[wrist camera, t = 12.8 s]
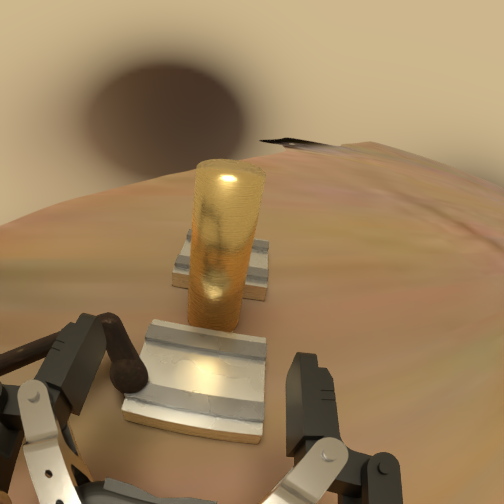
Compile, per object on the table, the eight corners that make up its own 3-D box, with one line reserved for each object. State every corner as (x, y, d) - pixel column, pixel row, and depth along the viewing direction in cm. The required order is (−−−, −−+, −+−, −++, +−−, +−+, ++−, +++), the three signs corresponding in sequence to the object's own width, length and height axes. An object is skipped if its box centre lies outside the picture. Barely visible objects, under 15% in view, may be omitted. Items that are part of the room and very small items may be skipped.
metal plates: (125, 420, 16) (120, 406, 15) (190, 240, 33) (191, 224, 32) (257, 444, 16) (263, 432, 15) (265, 252, 33) (268, 237, 32)
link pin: (182, 331, 22) (189, 176, 16) (192, 296, 26) (204, 155, 19) (235, 340, 23) (265, 188, 16) (240, 304, 26) (266, 165, 19)
